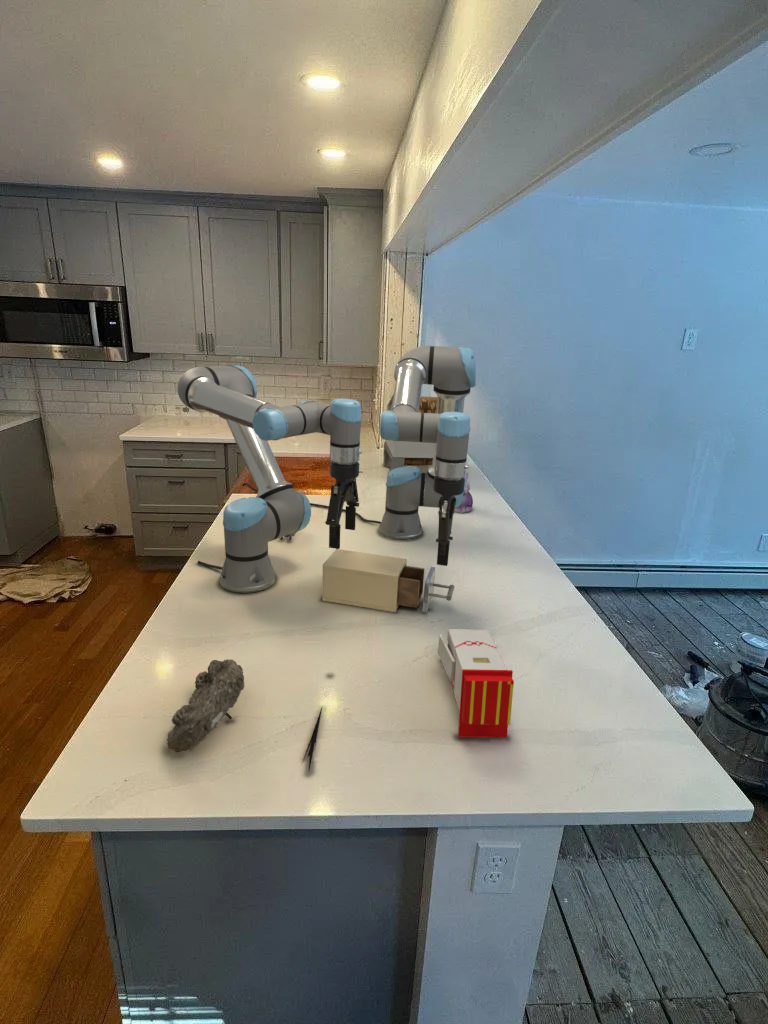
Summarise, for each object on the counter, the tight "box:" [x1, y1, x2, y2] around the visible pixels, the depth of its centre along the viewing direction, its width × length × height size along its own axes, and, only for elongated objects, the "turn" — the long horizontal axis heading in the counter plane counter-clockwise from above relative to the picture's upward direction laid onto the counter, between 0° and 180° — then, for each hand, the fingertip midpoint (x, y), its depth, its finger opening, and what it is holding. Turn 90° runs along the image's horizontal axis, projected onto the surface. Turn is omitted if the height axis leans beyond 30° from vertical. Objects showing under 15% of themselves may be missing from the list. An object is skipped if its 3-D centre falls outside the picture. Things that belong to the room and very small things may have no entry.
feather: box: [301, 673, 332, 771], centre depth 108 cm, size 2×28×2 cm
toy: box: [437, 628, 515, 738], centre depth 117 cm, size 12×13×30 cm
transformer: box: [383, 393, 438, 472], centre depth 268 cm, size 34×33×41 cm
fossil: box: [166, 658, 245, 754], centre depth 106 cm, size 22×10×15 cm
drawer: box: [397, 565, 455, 613], centre depth 151 cm, size 25×10×8 cm, turn 76°
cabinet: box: [321, 548, 408, 613], centre depth 154 cm, size 20×11×10 cm, turn 76°
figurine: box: [454, 472, 474, 514], centre depth 225 cm, size 9×10×15 cm
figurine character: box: [279, 533, 296, 542], centre depth 193 cm, size 7×8×15 cm
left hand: (342, 538), depth 151 cm, fingers open, 13 cm apart
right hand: (442, 564), depth 147 cm, fingers closed
